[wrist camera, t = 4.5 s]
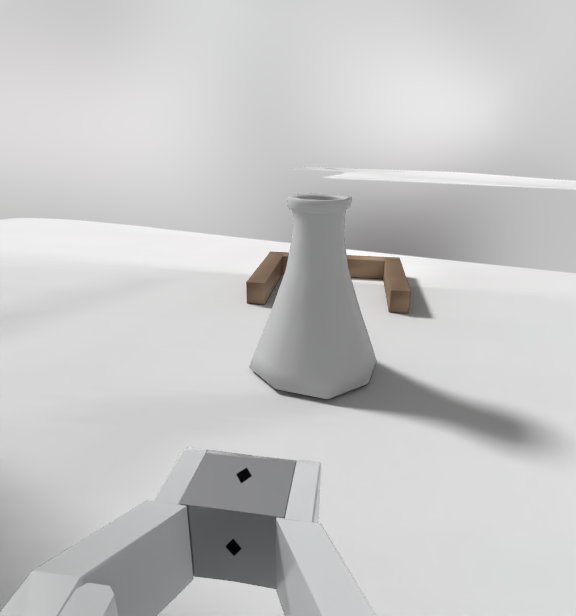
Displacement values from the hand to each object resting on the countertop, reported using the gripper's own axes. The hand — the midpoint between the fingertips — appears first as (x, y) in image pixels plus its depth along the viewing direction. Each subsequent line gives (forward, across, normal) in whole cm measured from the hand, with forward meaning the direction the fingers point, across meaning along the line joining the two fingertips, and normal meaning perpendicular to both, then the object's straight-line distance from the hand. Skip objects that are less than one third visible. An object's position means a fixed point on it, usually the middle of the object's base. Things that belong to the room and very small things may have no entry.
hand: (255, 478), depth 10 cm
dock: (+31, 0, -6) cm, 31 cm away
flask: (+16, 0, -6) cm, 17 cm away
